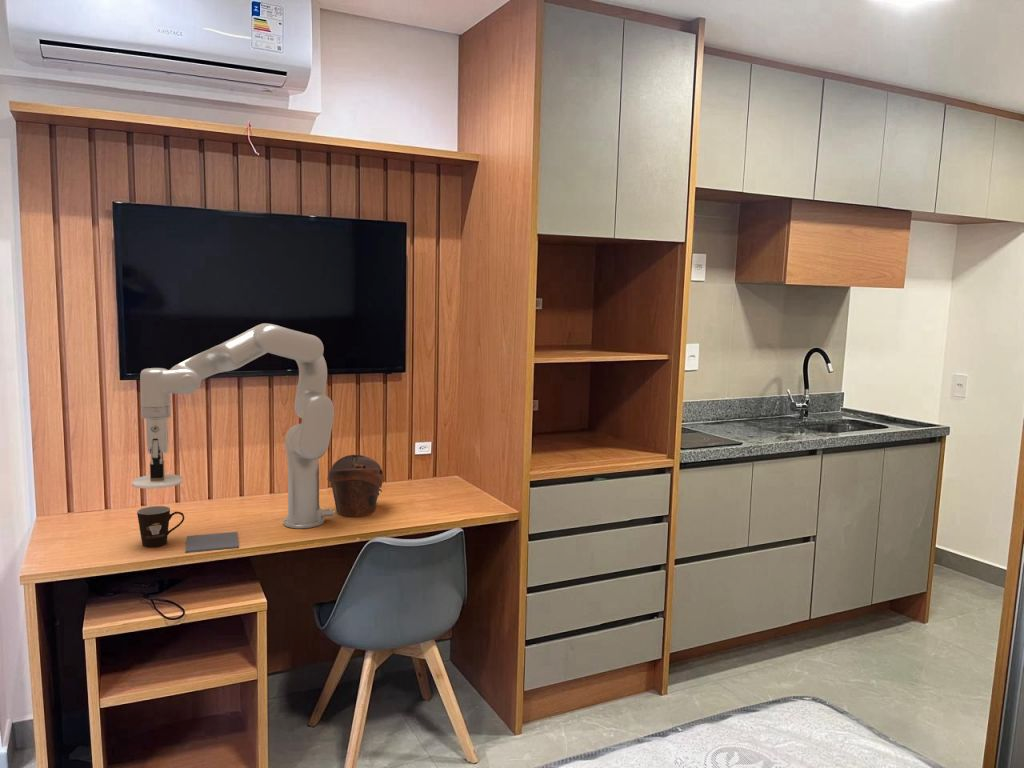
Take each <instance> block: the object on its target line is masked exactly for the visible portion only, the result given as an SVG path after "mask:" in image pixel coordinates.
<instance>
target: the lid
mask: <svg viewBox="0 0 1024 768" xmlns="http://www.w3.org/2000/svg"><path fill="white" fill-rule="evenodd" d="M162 463H163V478H151V467H150V466H149V473H150V474H148V475H142V476H139V477H136V478H134V479H132V480H131V484H132V486H133V487H134V488H138V489H147V490H148V489H149V490H152V489H164V488H166V489H167V488H171V487H175V486H178V485H181V484H182V483H183V481H184V480H183V477H182V476H181V475H178V474H172V473H171V474H170V473H168V474H167V473H165V460H164V461H162ZM150 464H151V461H150V463H149V465H150Z"/></svg>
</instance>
